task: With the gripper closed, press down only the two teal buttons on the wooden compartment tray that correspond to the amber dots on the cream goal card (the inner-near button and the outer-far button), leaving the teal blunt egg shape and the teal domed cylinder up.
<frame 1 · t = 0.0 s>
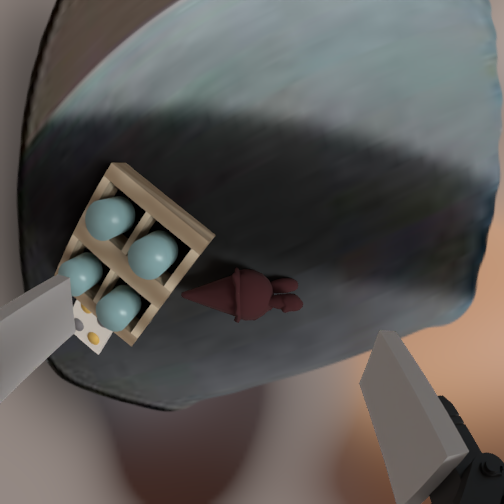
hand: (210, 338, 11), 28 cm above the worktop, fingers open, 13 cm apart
teal blunt egg shape 2: (153, 254, 35), point 5 cm above the worktop, slide at 0.0 cm
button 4: (118, 307, 37), point 5 cm above the worktop, slide at 0.0 cm
icecream: (244, 285, 41), on the worktop
button 1: (110, 217, 34), point 5 cm above the worktop, slide at 0.0 cm
goal card: (92, 321, 44), on the worktop
teal domed cylinder 3: (80, 273, 37), point 5 cm above the worktop, slide at 0.0 cm
wooden compartment tray: (130, 254, 41), on the worktop
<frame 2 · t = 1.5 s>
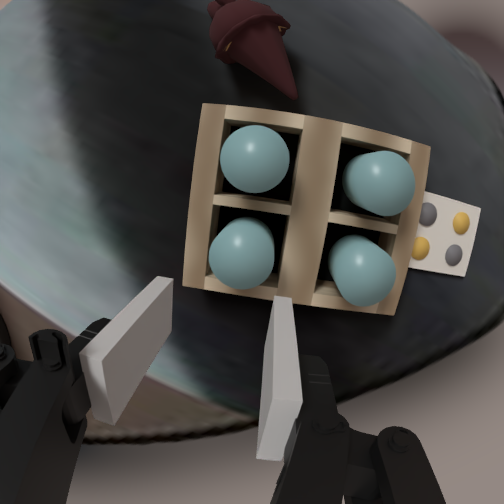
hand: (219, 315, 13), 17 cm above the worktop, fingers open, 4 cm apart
teal blunt egg shape 2: (256, 160, 23), point 5 cm above the worktop, slide at 0.0 cm
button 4: (376, 182, 22), point 5 cm above the worktop, slide at 0.0 cm
icecream: (252, 49, 25), on the worktop
button 1: (244, 250, 24), point 5 cm above the worktop, slide at 0.0 cm
goal card: (438, 234, 28), on the worktop
teal domed cylinder 3: (359, 268, 24), point 5 cm above the worktop, slide at 0.0 cm
wooden compartment tray: (305, 208, 28), on the worktop
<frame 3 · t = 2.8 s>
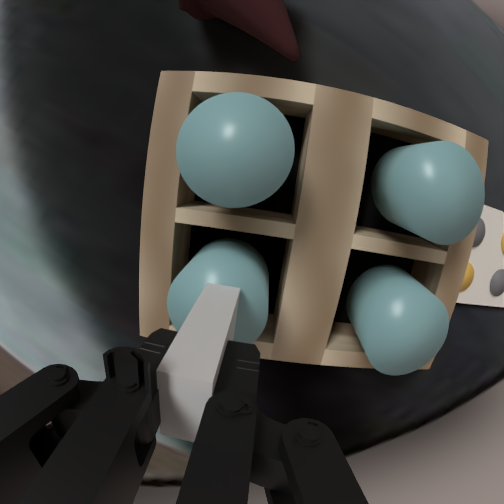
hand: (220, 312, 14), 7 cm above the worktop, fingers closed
teal blunt egg shape 2: (239, 152, 14), point 5 cm above the worktop, slide at 0.0 cm
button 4: (425, 189, 14), point 5 cm above the worktop, slide at 0.0 cm
icecream: (236, 4, 16), on the worktop
button 1: (223, 291, 16), point 5 cm above the worktop, slide at -0.5 cm, touching gripper
goal card: (483, 256, 19), on the worktop
teal domed cylinder 3: (394, 317, 16), point 5 cm above the worktop, slide at 0.0 cm
wooden compartment tray: (313, 224, 20), on the worktop
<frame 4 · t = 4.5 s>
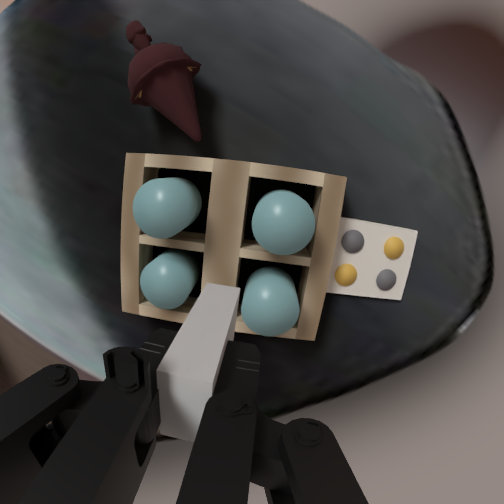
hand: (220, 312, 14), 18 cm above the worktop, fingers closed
teal blunt egg shape 2: (168, 205, 25), point 5 cm above the worktop, slide at 0.0 cm
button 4: (282, 219, 25), point 5 cm above the worktop, slide at 0.0 cm
icecream: (173, 87, 27), on the worktop
button 1: (171, 276, 29), point 3 cm above the worktop, slide at -2.1 cm
goal card: (368, 259, 31), on the worktop
teal domed cylinder 3: (270, 299, 27), point 5 cm above the worktop, slide at 0.0 cm
wooden compartment tray: (227, 240, 31), on the worktop
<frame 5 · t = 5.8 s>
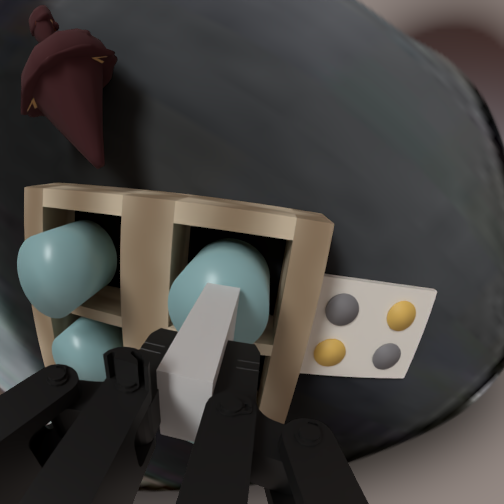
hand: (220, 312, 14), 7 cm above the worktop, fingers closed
teal blunt egg shape 2: (67, 265, 16), point 5 cm above the worktop, slide at 0.0 cm
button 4: (224, 291, 16), point 5 cm above the worktop, slide at -0.6 cm, touching gripper
icecream: (92, 87, 18), on the worktop
button 1: (92, 348, 20), point 3 cm above the worktop, slide at -2.1 cm
goal card: (363, 330, 21), on the worktop
teal domed cylinder 3: (212, 398, 17), point 5 cm above the worktop, slide at 0.0 cm
wooden compartment tray: (164, 302, 22), on the worktop
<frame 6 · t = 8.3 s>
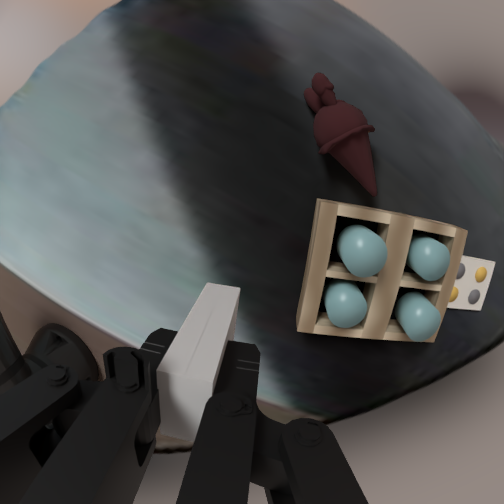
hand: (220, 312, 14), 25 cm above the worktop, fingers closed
teal blunt egg shape 2: (360, 249, 32), point 5 cm above the worktop, slide at 0.0 cm
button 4: (426, 256, 33), point 3 cm above the worktop, slide at -2.0 cm
icecream: (338, 138, 34), on the worktop
button 1: (344, 301, 36), point 3 cm above the worktop, slide at -2.1 cm
goal card: (464, 282, 37), on the worktop
teal domed cylinder 3: (417, 315, 33), point 5 cm above the worktop, slide at 0.0 cm
wooden compartment tray: (379, 271, 38), on the worktop
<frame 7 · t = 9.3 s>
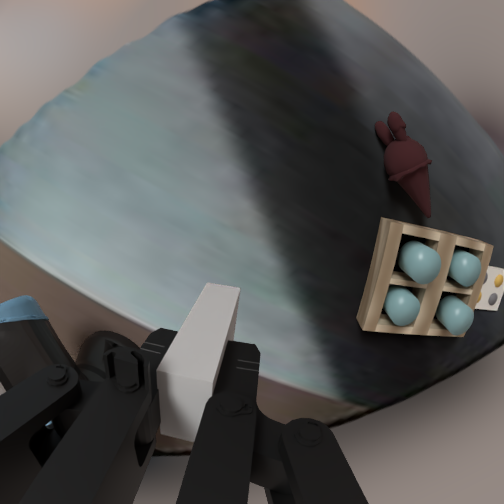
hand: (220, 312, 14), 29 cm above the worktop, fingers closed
teal blunt egg shape 2: (419, 261, 37), point 5 cm above the worktop, slide at 0.0 cm
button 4: (462, 266, 38), point 3 cm above the worktop, slide at -2.0 cm
icecream: (399, 166, 39), on the worktop
button 1: (399, 304, 41), point 3 cm above the worktop, slide at -2.1 cm
goal card: (486, 287, 42), on the worktop
teal domed cylinder 3: (454, 314, 38), point 5 cm above the worktop, slide at 0.0 cm
wooden compartment tray: (424, 278, 42), on the worktop
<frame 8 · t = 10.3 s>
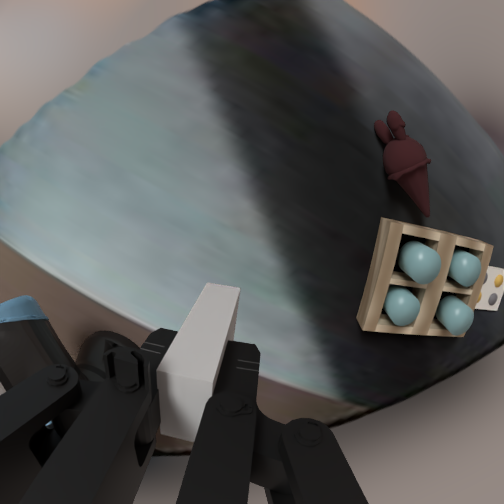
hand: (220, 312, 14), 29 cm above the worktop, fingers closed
teal blunt egg shape 2: (419, 261, 37), point 5 cm above the worktop, slide at 0.0 cm
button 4: (462, 266, 38), point 3 cm above the worktop, slide at -2.0 cm
icecream: (398, 165, 39), on the worktop
button 1: (399, 304, 41), point 3 cm above the worktop, slide at -2.1 cm
goal card: (486, 287, 42), on the worktop
teal domed cylinder 3: (454, 314, 38), point 5 cm above the worktop, slide at 0.0 cm
wooden compartment tray: (424, 278, 42), on the worktop
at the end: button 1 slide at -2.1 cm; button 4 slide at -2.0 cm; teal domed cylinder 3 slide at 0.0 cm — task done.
